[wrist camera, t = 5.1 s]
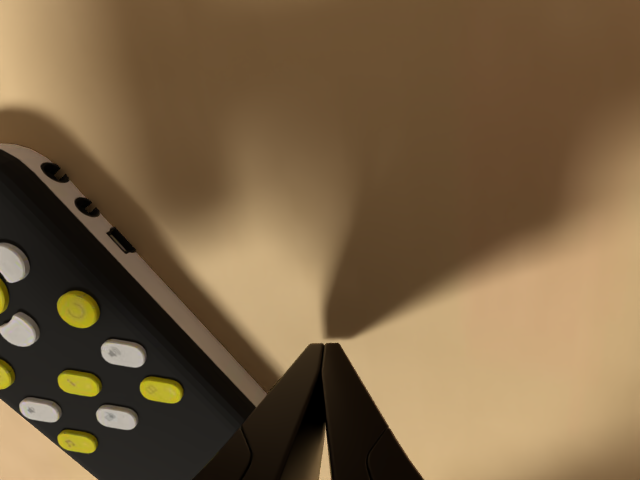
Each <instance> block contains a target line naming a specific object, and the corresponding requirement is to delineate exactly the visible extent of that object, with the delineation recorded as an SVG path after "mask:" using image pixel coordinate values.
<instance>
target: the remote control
mask: <svg viewBox="0 0 640 480" xmlns="http://www.w3.org/2000/svg"><path fill="white" fill-rule="evenodd" d="M44 162H45V163H44ZM59 170H60V167H59V166H58V165H56V164H54V163H52V162H51V161H50V160H49V159H48V158H46V157H45V156H43V155H41V154H39V153H38V152H36V151H34V150H32V149H30V148H26V147H23V146H20V145H17V144H3V143H0V399H2V400H3V401H4V402H5V403H6V404H8V405H9V406H10V407H11V408H12V409H14V410H15V411H16V412H17V413H18V414H20V415H21V416H22V417H23V418H24V419H26V420H27V421H28V422H29V423H31V424H32V425H33V426H34V427H35V428H37V429H38V430H39V431H40V432H41V433H43V434H44V435H45V436H46V437H47V438H49V439H50V440H51V441H52V442H53V443H55V444H56V445H57V446H58V447H60V448H61V449H62V450H63V451H64V452H66V453H67V454H68V455H69V456H70V457H72V458H73V459H74V460H75V461H76V462H78V463H79V464H80V465H81V466H82V467H84V468H85V469H86V470H87V471H89V472H90V473H91V474H92V475H93V476H95V477H96V478H97V479H98V480H192V479H193V478H194V477H195V476H196V475H197V474H198V473H199V472H200V471H201V470H202V469H203V468H204V466H205V465H206V464H207V463H208V462H209V461H210V460H211V459H212V458H213V457H214V456H215V455H216V454H217V453H218V452H219V450H220V449H221V448H222V447H223V446H224V445H225V444H226V442H227V441H228V440H229V439H230V438H231V437H232V435H233V434H234V433H235V432H236V431H237V430H238V429H239V428H240V427H241V425H242V424H243V423H244V421H245V420H246V419H247V418H248V417H249V415H250V414H251V413H252V412H253V411H254V409H255V408H256V407H257V406H258V405H259V404H260V402H261V401H262V400H263V399H264V398H265V396H266V395H267V393H266V392H265V391H264V390H263V389H262V388H261V387H260V386H259V385H258V384H257V382H256V381H255V380H254V379H253V378H252V377H251V376H250V375H249V374H248V373H247V372H246V370H245V369H244V368H243V367H242V366H241V365H240V364H239V363H238V362H237V361H236V360H235V359H234V357H233V356H232V355H231V354H230V353H229V352H228V351H227V350H226V349H225V348H224V347H223V346H222V344H221V343H220V342H219V341H218V340H217V339H216V338H215V337H214V336H213V335H212V334H211V333H210V331H209V330H208V329H207V328H206V327H205V326H204V325H203V324H202V323H201V322H200V321H199V320H198V318H197V317H196V316H195V315H194V314H193V313H192V312H191V311H190V310H189V309H188V308H187V307H186V305H185V304H184V303H183V302H182V301H181V300H180V299H179V298H178V297H177V296H176V295H175V294H174V292H173V291H172V290H171V289H170V288H169V287H168V286H167V285H166V284H165V283H164V282H163V281H162V279H161V278H160V277H159V276H158V275H157V274H156V273H155V272H154V271H153V270H152V269H151V268H150V266H149V265H148V264H147V263H146V262H145V261H144V260H143V259H142V258H141V257H140V256H139V255H138V253H137V252H135V253H133V252H134V251H136V249H135V248H134V247H133V246H132V245H131V244H130V243H129V242H128V241H127V240H126V239H125V237H124V236H123V235H122V234H121V233H120V232H119V231H118V230H117V229H116V228H115V227H113V226H112V225H111V224H110V223H109V222H108V221H107V220H106V219H105V218H104V217H103V216H102V214H101V213H99V210H98V209H97V208H95V209H94V210H93V211H91V212H90V213H88V212H87V210H86V209H85V208H87V207H88V206H89V205H90V204H91V203H92V202H91V201H90V200H89V199H87V198H86V197H85V196H84V195H83V194H82V193H81V192H80V191H79V190H78V188H77V187H76V186H75V185H74V184H73V183H72V182H71V181H70V180H68V179H69V177H68V176H67V175H66V174H65V175H64V176H63V177H62V178H61V179H60V180H58V179H57V178H56V177H55V176H54V174H55V173H56V172H57V171H59ZM112 227H113V228H112Z"/></svg>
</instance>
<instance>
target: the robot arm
mask: <svg viewBox="0 0 640 480" xmlns="http://www.w3.org/2000/svg"><path fill="white" fill-rule="evenodd" d="M325 427H326V434H327V444H328V454H329V465H330V475H331V480H424V479H423V477H422V476H421V475H420V473H419V472H418V471H417V469H416V468H415V466H414V465H413V464H412V462H411V461H410V460H409V458H408V456H407V455H406V453H405V452H404V450H403V449H402V447H401V446H400V444H399V442H398V441H397V439H396V437H395V436H394V434H393V432H392V431H391V429H390V428H389V426H388V424H387V423H386V421H385V419H384V418H383V416H382V414H381V413H380V411H379V409H378V408H377V406H376V404H375V403H374V401H373V399H372V398H371V396H370V394H369V392H368V391H367V389H366V387H365V386H364V384H363V382H362V381H361V379H360V377H359V376H358V374H357V372H356V371H355V369H354V367H353V366H352V364H351V362H350V361H349V359H348V357H347V356H346V354H345V352H344V351H343V349H342V347H341V345H340V344H339V343H326V344H325V345H324V344H323V343H312V344H309V345H308V346H307V348H306V349H305V350H304V351H303V352H302V354H301V355H300V356H299V357H298V358H297V360H296V361H295V362H294V363H293V364H292V365H291V367H290V368H289V369H288V370H287V371H286V373H285V374H284V375H283V376H282V377H281V379H280V380H279V381H278V382H277V383H276V385H275V386H274V387H273V388H272V389H271V390H270V392H269V393H268V394H267V395H266V396H265V398H264V399H263V400H262V401H261V402H260V404H259V405H258V406H257V407H256V408H255V409H254V411H253V412H252V413H251V414H250V415H249V417H248V418H247V419H246V420H245V421H244V423H243V424H242V425H241V427H240V428H239V429H238V430H237V431H236V432H235V433H234V434H233V435H232V437H231V438H230V439H229V440H228V441H227V442H226V444H225V445H224V446H223V447H222V448H221V449H220V450H219V452H218V453H217V454H216V455H215V456H214V457H213V458H212V459H211V460H210V461H209V462H208V463H207V464H206V465H205V466H204V468H203V469H202V470H201V471H200V472H199V473H198V474H197V475H196V476H195V477H194V478H193V479H192V480H319V474H320V467H321V459H322V452H323V445H324V437H325Z"/></svg>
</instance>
